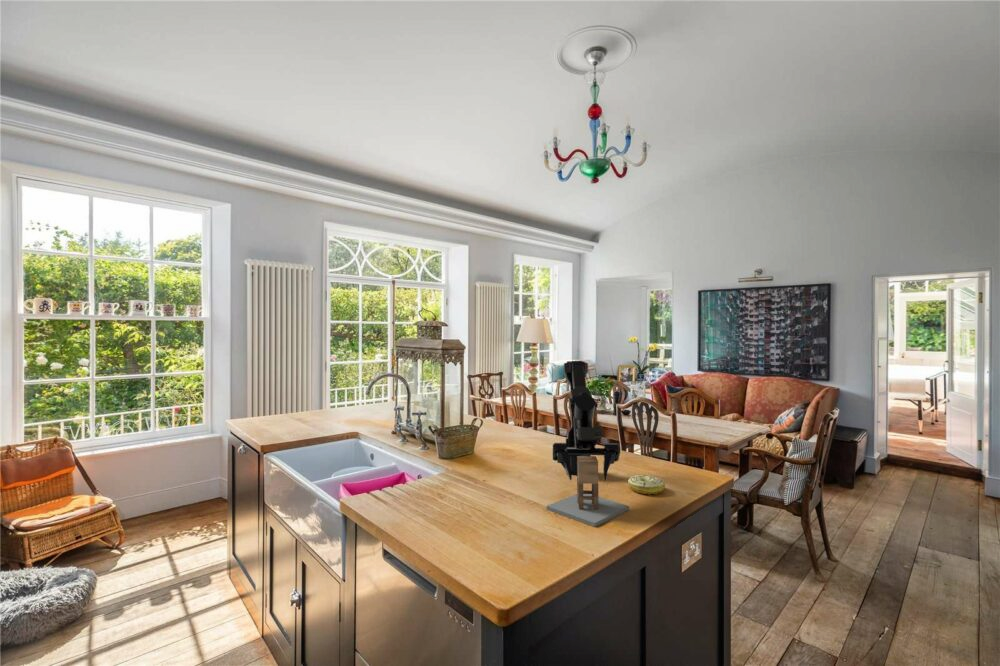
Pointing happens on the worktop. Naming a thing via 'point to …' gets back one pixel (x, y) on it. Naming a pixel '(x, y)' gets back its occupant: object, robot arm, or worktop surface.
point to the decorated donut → (646, 484)
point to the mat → (588, 510)
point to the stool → (587, 480)
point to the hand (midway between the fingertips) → (587, 479)
